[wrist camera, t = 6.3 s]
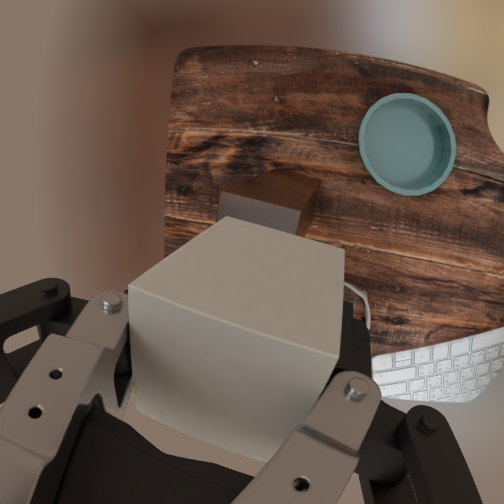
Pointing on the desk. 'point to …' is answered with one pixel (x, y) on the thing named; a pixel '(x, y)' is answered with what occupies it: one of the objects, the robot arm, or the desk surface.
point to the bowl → (406, 144)
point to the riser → (272, 201)
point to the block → (237, 334)
